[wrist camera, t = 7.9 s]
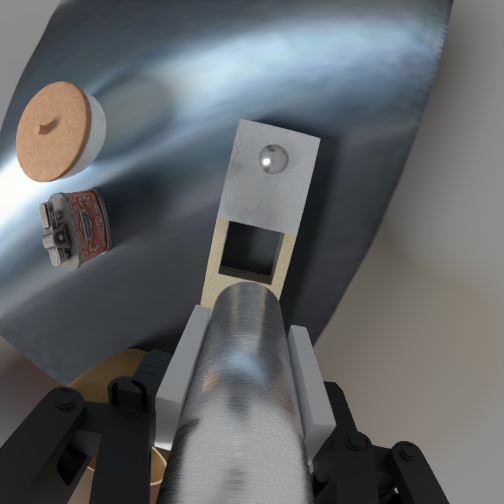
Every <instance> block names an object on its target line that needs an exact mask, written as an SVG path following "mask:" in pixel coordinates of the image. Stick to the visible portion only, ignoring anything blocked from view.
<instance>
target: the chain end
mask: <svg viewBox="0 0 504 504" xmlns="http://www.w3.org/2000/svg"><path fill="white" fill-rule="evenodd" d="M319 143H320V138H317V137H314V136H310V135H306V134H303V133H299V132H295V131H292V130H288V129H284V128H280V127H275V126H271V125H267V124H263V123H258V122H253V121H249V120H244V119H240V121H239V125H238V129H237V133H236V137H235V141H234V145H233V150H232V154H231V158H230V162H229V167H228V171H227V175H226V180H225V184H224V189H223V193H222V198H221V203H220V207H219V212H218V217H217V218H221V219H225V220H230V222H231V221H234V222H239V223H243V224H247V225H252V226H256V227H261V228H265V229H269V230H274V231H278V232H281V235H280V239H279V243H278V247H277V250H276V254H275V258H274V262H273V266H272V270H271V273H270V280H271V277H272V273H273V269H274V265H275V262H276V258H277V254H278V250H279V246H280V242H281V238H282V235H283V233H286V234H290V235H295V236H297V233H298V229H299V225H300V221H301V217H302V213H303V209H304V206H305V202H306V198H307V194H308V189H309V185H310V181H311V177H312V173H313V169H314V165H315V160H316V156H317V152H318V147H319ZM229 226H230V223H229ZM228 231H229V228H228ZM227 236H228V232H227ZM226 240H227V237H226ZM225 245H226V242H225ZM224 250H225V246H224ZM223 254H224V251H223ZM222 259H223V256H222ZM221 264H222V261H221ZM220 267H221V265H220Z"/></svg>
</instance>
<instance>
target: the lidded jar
mask: <svg viewBox="0 0 504 504" xmlns="http://www.w3.org/2000/svg"><path fill="white" fill-rule="evenodd" d="M106 129H107V125H106V117H105V114H104V111H103V109H102V107H101V105H100V103H99V102H98V101H97V100H96V99H95V98H94V97H93V96H92V95H91V94H89V93H88V92H87V91H85V90H83V89H81V88H79V87H78V86H77V85H75V84H72V83H70V82H65V81H61V82H55V83H52V84H50V85H48V86H46V87H45V88H43V89H42V90H40V91H39V92H38V93H37V94H36V95H35V96H34V97H33V98H32V100H31V101H30V102H29V104H28V105H27V107H26V109H25V110H24V112H23V115H22V117H21V119H20V122H19V126H18V130H17V136H16V152H17V157H18V161H19V164H20V166H21V168H22V170H23V171H24V173H25V174H26V175H27V176H28V177H29V178H31V179H32V180H35V181H37V182H51V181H54V180H60V179H64V178H68V177H71V176H74V175H76V174H78V173H80V172H82V171H83V170H84V169H86V168H87V167H88V166H89V165H90V164H91V163H93V161H94V160H95V159H96V158H97V156H98V154H99V153H100V151H101V149H102V147H103V144H104V141H105V137H106Z"/></svg>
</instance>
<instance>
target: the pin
mask: <svg viewBox="0 0 504 504" xmlns="http://www.w3.org/2000/svg"><path fill="white" fill-rule="evenodd" d="M156 504H315V502H314V496H313V489H312V483H311V477H310V471H309V464H308V458H307V452H306V446H305V440H304V434H303V428H302V423H301V417H300V411H299V405H298V400H297V394H296V388H295V383H294V377H293V372H292V366H291V361H290V355H289V350H288V345H287V339H286V334H285V329H284V323H283V318H282V313H281V308H280V304H279V301H278V299H277V297H276V296H275V294H274V293H273V292H272V291H271V290H270V289H268V288H267V287H265V286H263V285H261V284H258V283H255V282H239V283H235V284H232V285H230V286H228V287H227V288H225V289H224V290H223V291H222V292H221V293H220V294H219V296H218V297H217V299H216V301H215V304H214V307H213V310H212V314H211V317H210V320H209V323H208V327H207V331H206V334H205V337H204V340H203V344H202V347H201V350H200V353H199V357H198V360H197V363H196V367H195V370H194V373H193V376H192V380H191V383H190V387H189V390H188V393H187V397H186V400H185V403H184V407H183V410H182V414H181V417H180V421H179V424H178V426H177V429H176V433H175V436H174V440H173V443H172V447H171V450H170V454H169V457H168V461H167V464H166V468H165V471H164V475H163V479H162V482H161V486H160V490H159V493H158V497H157V501H156Z"/></svg>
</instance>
